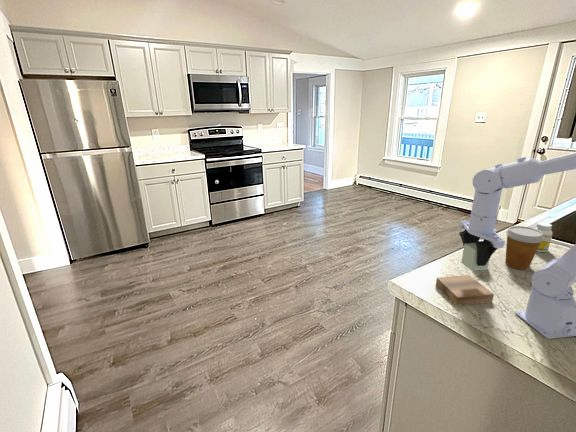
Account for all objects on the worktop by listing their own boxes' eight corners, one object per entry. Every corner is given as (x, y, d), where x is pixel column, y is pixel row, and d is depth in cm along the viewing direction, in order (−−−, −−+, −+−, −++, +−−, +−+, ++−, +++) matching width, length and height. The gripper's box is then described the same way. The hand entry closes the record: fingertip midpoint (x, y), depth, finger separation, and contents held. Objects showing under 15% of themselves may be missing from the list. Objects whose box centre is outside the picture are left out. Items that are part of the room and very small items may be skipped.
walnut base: (492, 302, 81) (493, 294, 81) (456, 305, 81) (458, 297, 80) (467, 282, 91) (468, 274, 90) (435, 285, 90) (436, 277, 89)
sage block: (487, 269, 82) (491, 249, 80) (471, 270, 82) (475, 250, 80) (476, 261, 87) (479, 242, 85) (461, 262, 86) (464, 243, 84)
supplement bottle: (549, 253, 106) (556, 228, 102) (530, 250, 108) (536, 225, 105) (545, 247, 110) (552, 222, 107) (527, 245, 112) (533, 220, 109)
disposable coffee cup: (541, 267, 97) (550, 232, 93) (525, 275, 93) (535, 239, 89) (509, 255, 105) (516, 223, 101) (493, 262, 101) (500, 229, 97)
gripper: (520, 223, 73) (508, 272, 77) (479, 205, 86) (471, 248, 91) (492, 225, 72) (482, 275, 77) (455, 206, 86) (448, 250, 90)
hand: (474, 260), depth 84 cm, fingers closed on sage block, 4 cm apart
